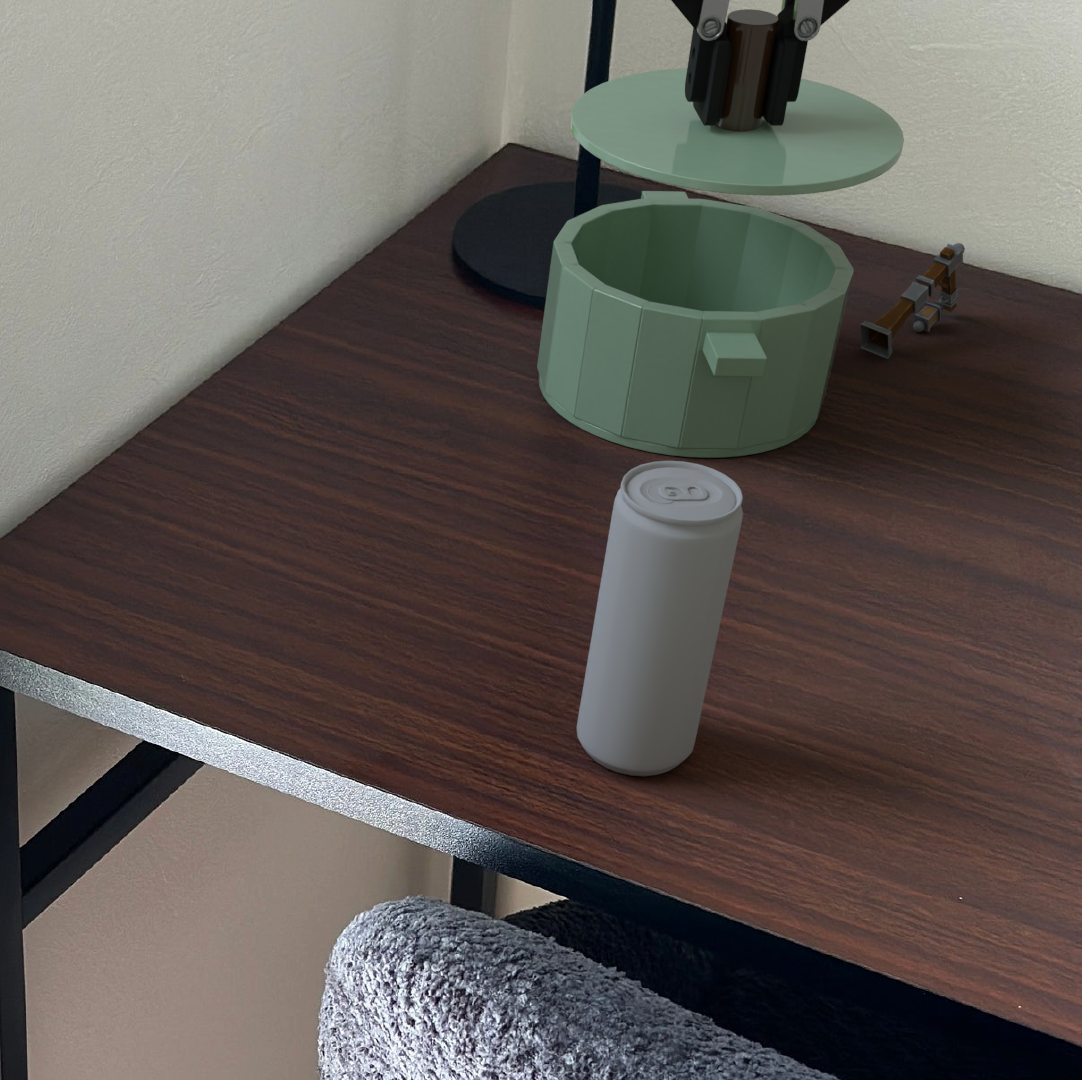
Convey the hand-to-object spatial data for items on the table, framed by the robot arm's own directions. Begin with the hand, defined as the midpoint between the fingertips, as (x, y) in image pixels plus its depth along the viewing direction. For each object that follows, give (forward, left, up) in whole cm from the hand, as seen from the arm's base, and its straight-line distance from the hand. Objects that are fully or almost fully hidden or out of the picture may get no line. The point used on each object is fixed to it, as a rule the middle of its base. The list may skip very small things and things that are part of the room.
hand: (737, 112), depth 102 cm
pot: (0, 0, -15) cm, 15 cm away
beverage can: (+8, +32, -15) cm, 36 cm away
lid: (0, 0, -1) cm, 1 cm away
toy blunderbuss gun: (-14, -7, -15) cm, 22 cm away
